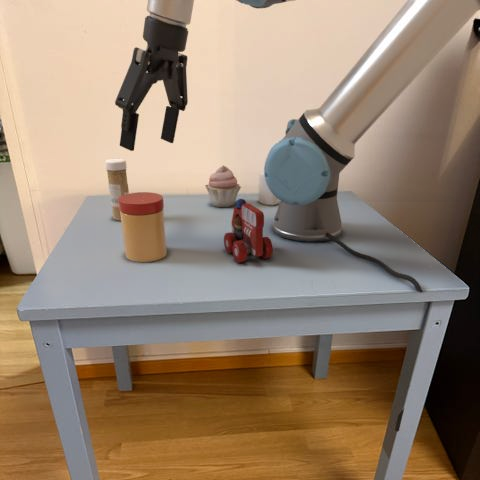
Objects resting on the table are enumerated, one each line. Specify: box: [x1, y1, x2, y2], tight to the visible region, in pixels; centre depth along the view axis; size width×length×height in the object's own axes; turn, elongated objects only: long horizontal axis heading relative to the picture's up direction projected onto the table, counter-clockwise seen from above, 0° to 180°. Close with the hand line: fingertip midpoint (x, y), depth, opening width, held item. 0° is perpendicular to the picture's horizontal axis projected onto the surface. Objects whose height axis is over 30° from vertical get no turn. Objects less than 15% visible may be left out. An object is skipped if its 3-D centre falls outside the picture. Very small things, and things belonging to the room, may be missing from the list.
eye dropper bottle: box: [257, 170, 279, 206], centre depth 118 cm, size 4×6×12 cm
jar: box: [120, 208, 168, 263], centre depth 86 cm, size 8×8×11 cm
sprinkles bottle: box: [104, 158, 130, 222], centre depth 105 cm, size 5×5×13 cm
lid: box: [118, 191, 165, 215], centre depth 84 cm, size 8×8×2 cm
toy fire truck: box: [223, 198, 274, 263], centre depth 87 cm, size 7×12×10 cm, turn 22°
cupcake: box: [204, 165, 242, 208], centre depth 117 cm, size 9×9×10 cm
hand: (148, 144), depth 90 cm, fingers open, 13 cm apart
